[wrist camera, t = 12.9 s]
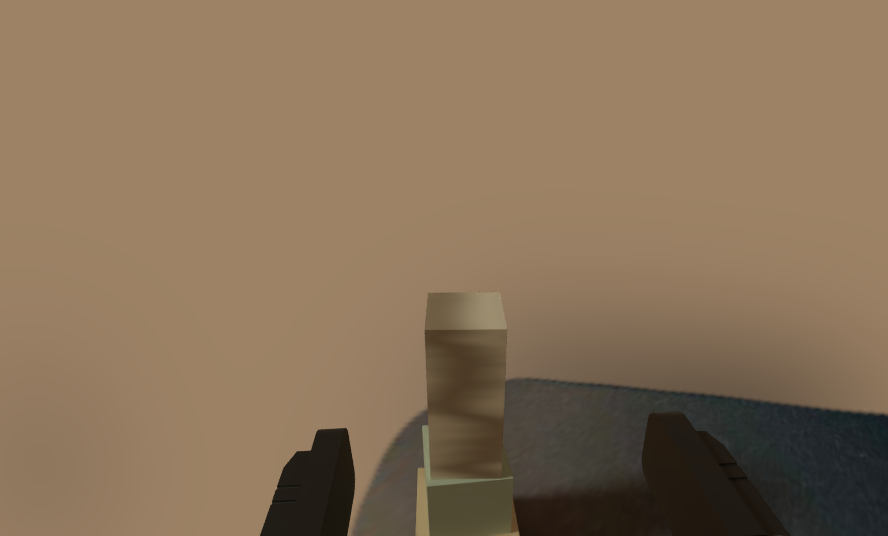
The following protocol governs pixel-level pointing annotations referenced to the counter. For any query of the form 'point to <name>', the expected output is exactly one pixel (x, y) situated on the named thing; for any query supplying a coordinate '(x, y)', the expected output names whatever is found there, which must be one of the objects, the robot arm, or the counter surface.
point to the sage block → (468, 501)
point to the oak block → (422, 510)
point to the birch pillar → (465, 384)
